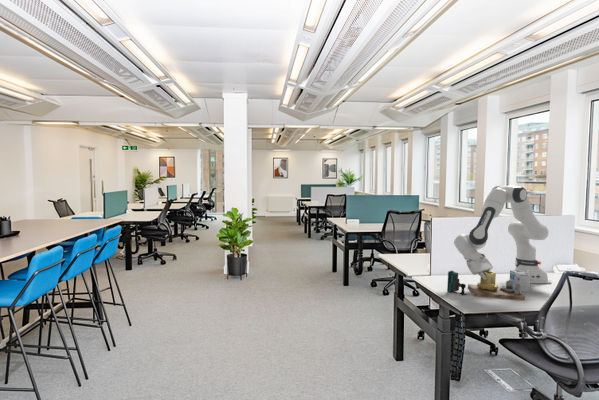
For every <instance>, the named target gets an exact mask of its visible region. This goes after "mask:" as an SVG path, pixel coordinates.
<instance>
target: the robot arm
mask: <svg viewBox="0 0 599 400" xmlns="http://www.w3.org/2000/svg"><path fill="white" fill-rule="evenodd" d="M505 204H510V208H511V211H512V213H513V217H514V219H515V220H517V221H512V222H510V223H509V224H508V227H507V231H508V232H507V233H509V235H510V236H511V237H512V238H513V240H514V242H515V245H516V246H515V247H516V256H515V260H514V261H515V262H514V264H515V268H514V270H521V271H524V272H526V273H529V274H531V275H530V284H552V280H551V279H549V277H548V273H547V271H545V270H544V269H543V268H542V267H541V266H539V265H541V264H542V261H539V260H537V259H536V256H537V255H536V254H537V253H536V252H537V250H536V247H535V246H534V245H533V244H532V243H531V242H530V240H532V241H533V240H534V241H542V240H546V238H548V237H549V229H548V227H547V226H546V225H544V224H543V223H541V222H540V221H539V219H537V217H536V216H535V214H534V212H533V209H532V205H531V202H530V199H529V196H528V192H527V189H526V188H525V187H523V186H520V185H517V186H516V185H497V186H494V187H492V189H491V190H490V192H489V193H488V195H487V197H486V198H485V200H484V203H483V205H482V208H481V213H482V214H481V216H480V218H479V220H478V223H477V224H476V226H475V227H473V228H472V229H471V230H470V232H469V234H460V235H458V236H456V238H455V239H454V241H453V245H454V247H455V248H456V249H457V251H458V252H459V254H461V255H462V256H463V259H464V260H465V262H466V266H467V268H468V270H469V271H470V273H471V274H472V275H474V276H475V275H478V276H480V278H481V277H482V278H483V279H484V280H485V279H487V276H485V275H484V274H483V271H490V272H492V270H493V268H494V266H493V265H492V263H491V262H490V260H489V259H488V258H487V257H486V254H485V253H481V252H479V251H478V250H481V249H483V248H485V247H486V244H487V241H488V239H489V233H488V231H489V228H490V225H491V223H492V221H493V220H494V219H495V218H498V217H499V215H500V214H501V212H502V211H503V209H504V207H505Z"/></svg>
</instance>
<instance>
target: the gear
mask: <svg viewBox="0 0 599 400" xmlns="http://www.w3.org/2000/svg"><path fill="white" fill-rule="evenodd" d="M499 287H500V290H501V291H505V292H507V293H514V291H515V288H513V282H512V281H511V280H510V279H508V280H506V281H505V285H502V286H499Z"/></svg>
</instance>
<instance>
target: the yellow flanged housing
mask: <svg viewBox="0 0 599 400" xmlns="http://www.w3.org/2000/svg"><path fill="white" fill-rule="evenodd" d="M483 274H484V275H485V276H487V279H485V280H484V279H483V278H482V277H481V276H480V280H479V282H477V284H476V285H477V287H480V288H482V289H489V290H493V289H495V290H497V289H498V287H499V285H498V284H496V276H497V273H496V272H495V271H491V272H490V271H483Z"/></svg>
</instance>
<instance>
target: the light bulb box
mask: <svg viewBox="0 0 599 400" xmlns="http://www.w3.org/2000/svg"><path fill="white" fill-rule="evenodd" d="M530 275H531V274H529V273H526V272H524V271H521V270H515V269H510V270H509V280H511V281H512V282H513V288H515V284H521V292H530V289H531V288H530V287H531V286H530V285H531V283H530Z"/></svg>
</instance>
